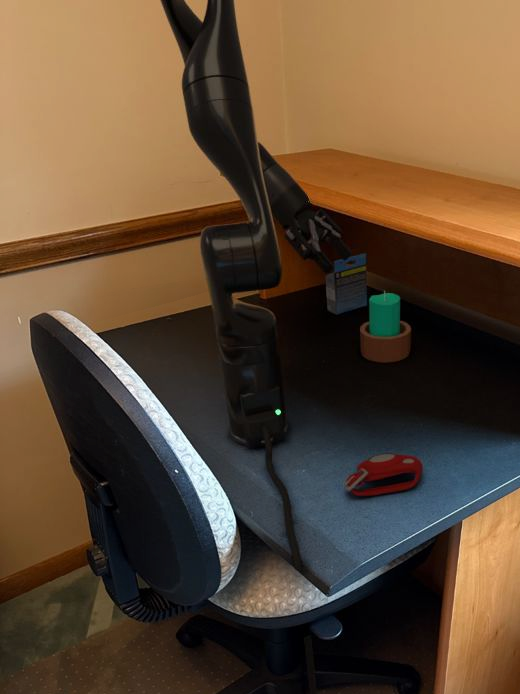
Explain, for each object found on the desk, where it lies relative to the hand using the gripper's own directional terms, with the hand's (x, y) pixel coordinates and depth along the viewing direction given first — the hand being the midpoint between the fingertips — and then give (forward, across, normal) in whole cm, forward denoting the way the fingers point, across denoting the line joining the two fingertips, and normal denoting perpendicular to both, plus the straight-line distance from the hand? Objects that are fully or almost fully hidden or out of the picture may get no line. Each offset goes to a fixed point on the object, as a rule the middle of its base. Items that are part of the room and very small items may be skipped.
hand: (340, 263), depth 128 cm
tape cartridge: (+7, +19, +17) cm, 27 cm away
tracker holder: (+29, -42, -4) cm, 51 cm away
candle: (+18, 0, +5) cm, 19 cm away
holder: (+18, 0, +6) cm, 19 cm away
